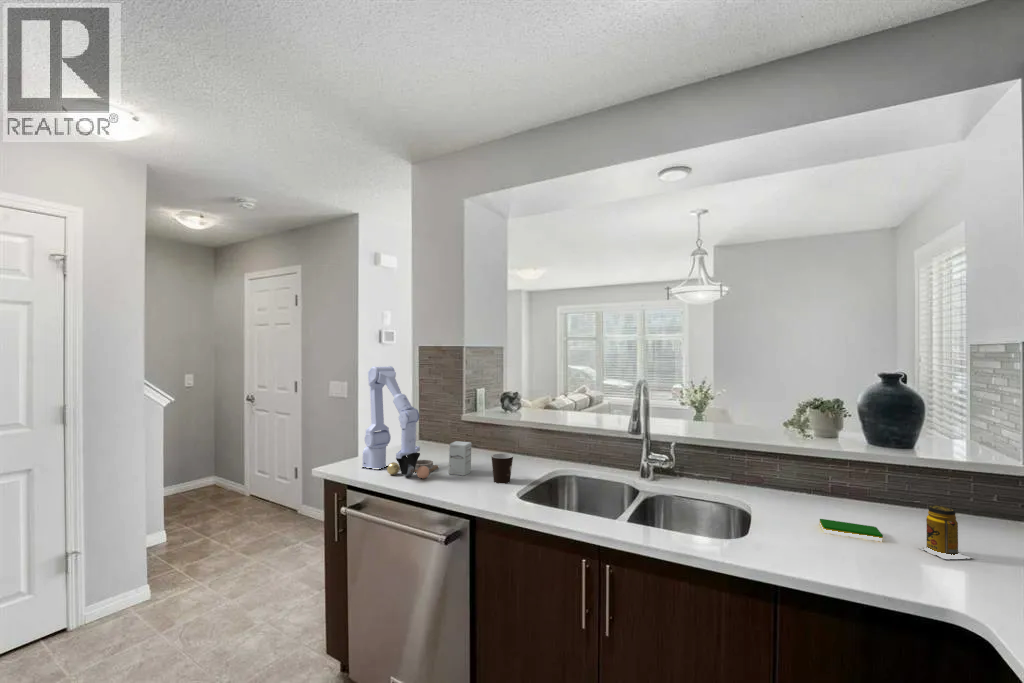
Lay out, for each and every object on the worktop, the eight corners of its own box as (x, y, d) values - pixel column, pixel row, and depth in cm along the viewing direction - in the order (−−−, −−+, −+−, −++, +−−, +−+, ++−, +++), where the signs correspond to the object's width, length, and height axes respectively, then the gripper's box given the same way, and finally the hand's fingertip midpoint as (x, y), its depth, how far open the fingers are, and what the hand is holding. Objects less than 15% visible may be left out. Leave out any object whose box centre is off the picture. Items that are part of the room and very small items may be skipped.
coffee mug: (503, 485, 173) (504, 459, 174) (486, 481, 179) (486, 456, 179) (521, 479, 183) (521, 454, 183) (504, 475, 188) (505, 451, 188)
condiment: (917, 548, 123) (917, 503, 123) (945, 547, 123) (945, 503, 124) (945, 561, 115) (945, 513, 116) (975, 560, 116) (975, 512, 116)
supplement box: (448, 474, 188) (448, 443, 188) (455, 470, 195) (456, 440, 196) (464, 476, 186) (465, 445, 186) (471, 471, 193) (471, 441, 193)
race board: (405, 471, 192) (405, 463, 192) (418, 465, 201) (418, 458, 201) (426, 474, 188) (426, 466, 188) (438, 468, 198) (438, 460, 198)
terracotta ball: (414, 479, 180) (414, 466, 180) (420, 476, 185) (421, 463, 185) (425, 480, 179) (425, 468, 179) (431, 477, 183) (431, 465, 183)
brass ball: (384, 475, 185) (384, 463, 185) (391, 472, 190) (391, 460, 190) (394, 476, 183) (395, 464, 183) (401, 473, 188) (402, 461, 188)
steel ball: (399, 477, 183) (399, 465, 183) (406, 474, 187) (406, 462, 187) (409, 478, 181) (410, 466, 181) (416, 475, 186) (416, 463, 186)
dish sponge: (819, 526, 139) (819, 518, 139) (876, 534, 133) (876, 526, 133) (823, 534, 132) (823, 526, 132) (883, 544, 126) (883, 535, 126)
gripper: (407, 443, 176) (406, 478, 176) (426, 436, 190) (425, 469, 190) (391, 441, 179) (391, 476, 178) (411, 435, 192) (411, 467, 192)
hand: (407, 472), depth 184 cm, fingers closed on steel ball, 5 cm apart
